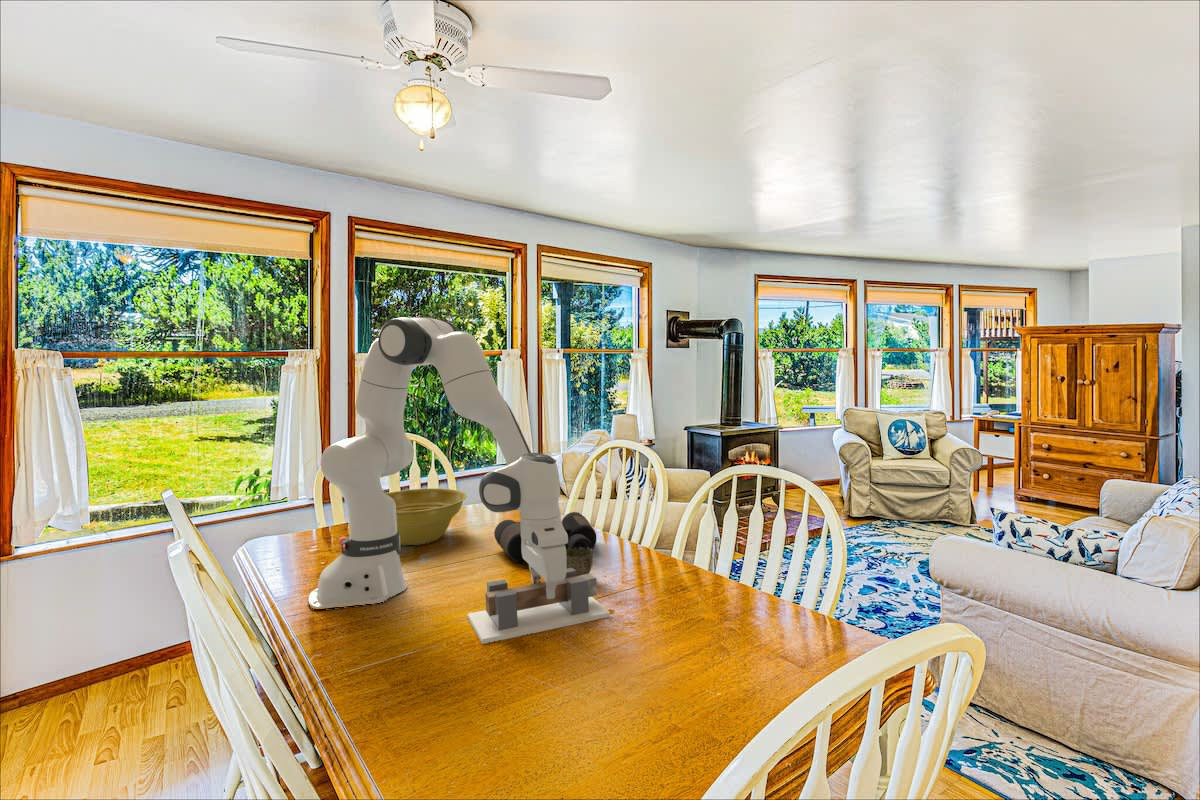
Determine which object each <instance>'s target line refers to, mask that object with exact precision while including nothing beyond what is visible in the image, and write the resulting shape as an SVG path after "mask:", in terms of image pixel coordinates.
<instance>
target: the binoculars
mask: <svg viewBox="0 0 1200 800" xmlns="http://www.w3.org/2000/svg"><path fill="white" fill-rule="evenodd" d="M561 521H562V525H563V528H564V529H565V531H566V533H567V535H568V543H567V544H564V545H565V547H566V549H567V550H568V548H569V547H570V548H572V549H574V548H575V547H576V549H577V550H578V548H579V547H581V548H583V547H584V548H585V549H586V550H587V548H589V550H590V549H591V548H592V550H593V549H594V548H595V545H596V543H597V533H596V530H595V529H594V527H593V526H592V525H591V523H590V522H589V520H588V519H587V518H586V517H585V516H584V515H582V513H580V512H579V511H571V512H569V513H567V514H566V515H565V516H564V517H563V519H561ZM493 534H494V539H495V541H496V544H498V545H499V546H500V547H501V549H502V550H503V552H504V553H506V555H508V557H509V558H510V559H511V560H512V561H514V562H515V563H518V564H528V563H527V562H526V561H525V560H524V559H523V557H522V552H521V541H522V538H521V528H520V521H515V520H512V519H505V520H502V521H500V522H499V523H498V524H497V525H496V527H495V529H494V533H493Z"/></svg>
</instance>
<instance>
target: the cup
mask: <svg viewBox="0 0 1200 800" xmlns="http://www.w3.org/2000/svg"><path fill="white" fill-rule="evenodd" d="M593 554H594V551H593V549H592V548H591V549H590V550H589V548H587V550H586V549H585V548H584V547H583V548H581V547H579V548H578V550H577V549H576V547H575V548H574V549H572V548H570V547H569V548H568V550H567V549H566V569H568V568H573V569H574V570H576V576H581V575H584V574H590V573H591V570H592V566H593V565H592V564H593Z"/></svg>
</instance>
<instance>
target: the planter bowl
mask: <svg viewBox="0 0 1200 800" xmlns="http://www.w3.org/2000/svg"><path fill="white" fill-rule="evenodd" d="M385 495H388V496H390V497H391V498H392V499H393V500H394V501H395V503H396V516H397V531H398V532H399V536H400V546H404V545H414V546H421V544H422V545H427V544H430V542H431V543H433V542H436V541H437V540H439V539H440V538H441V537H442V536H443V535H445V532H446V531H447V530H448V528H449V526H450V524H451V521H452V518H453V517H454V516H456V515H457V514H458V513H459V512H460V510H461V507H462V505H463V502H464V501H465V500H466V499H467V497H468V496H467V494H466V493H465V492H463V491H460V490H457V489H453V488H452V489H451V488H434V487H433V488H414V489H413V488H412V489H405V490H398V491H392V492H388V493H385ZM426 543H427V544H426Z"/></svg>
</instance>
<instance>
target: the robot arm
mask: <svg viewBox="0 0 1200 800" xmlns="http://www.w3.org/2000/svg"><path fill="white" fill-rule="evenodd" d="M377 337H378V338H376V339H375V340H373V342H372V343H371V345H370V348H369V350H368V353H367V355H366V358H365V361H364V364H363V367H362V368H363V369H362V372H361V376H360V381H359V386H358V391H357V397H356V402H355V410H356V413H357V414H358V415H359V416H360V418H362V419H363V420H364V422H365V432H364V434H363V435H362V436H361V435H360V436H355V437H350V438H344V439H342V440H340V441H337V442H335V443H332V444H330V445H329V446H327V447H326V448H325V449H324V450H323V453H322V454H321V459H320V468H321V472H322V474H323V476H324V478H325V480H327V481H328V482H329V483H331V484H333V485H334V486H336V488H337V489H338V491H339V492H340V494H341V495H342V497H343V499H344V501H345V504H346V509H347V515H348V527H349V529H348V530H349V536H348V537H347V536H341V537H340V538H339V541H338V543H339V545H340V548H341V549H340V550H341V553H340V555H339V556H338V557H336V558H335V559H334V560H333V561H332V562H331V563H330V564H328V565H327V566H326V567H325V568H324V569H322V572H321V573H320V575H319V578H318V583H317V588H315V589H313V590H311V592H310V593H309V595H308V599H307V600H308V601H309V604H310V606H312V607H314V608H331V607H338V606H348V605H350V606H351V605H361V604H362V605H363V604H371V603H380V602H383V603H385V602H386V601H388V600H389V599H390V598H389V597H391V598H393V597H395V596H397V595H396V594H398V593H400V592H401V593H403V592H404V591H406V589H407V587H408V584H407V582H406V579H405V575H404V573H403V569H402V564H401V563H402V562H401V558H400V555H401V545H400V536H399V532H398V531H397V516H396V503H395V501H394V500H393V499H392V498H391V497H390V496H388V495H385V494H386V493H385V492H384V490H383V488H382V484H381V478H385V477H388V476H392V475H395V474H397V473H399V472H401V471H403V470H404V469H405V468H407V467H409V466H410V465H411V463H412V462H413V459H414V455H415V450H414V449H415V448H414V446H413V443H412V441H411V439H410V438H409V437H408V436H407V433H406V432H405V426H404V415H405V407H406V401H407V398H408V393H409V392H408V391H409V389H410V381H411V377H412V372H413V370H414V369H415V368H416V367H417V366H419V367H420V366H422V367H423V366H429V365H432V366H433V367H434V368H435V369H436V370H437V372H438V374H439V377H440V380H441V383H442V387H443V390H444V393H445V396H446V398H447V400H448V403H449V405H450V406H451V408H452V410H453V411H454V413H456V414H457V415H459V416H460V417H462V418H465V419H467V420H468V421H469V420H470V421H473V422H476V423H478V424H480V425H482V426H484V427H485V428H486V429H487V430H489V431H490V432H491V433H492V434H493V437H494V438H495V440H496V442H497V446H498V448H499V449H500V451H501V454H502V457H503V458H504V460H505V462H506V465H504V466H501V467H498V468H495V469H493V470H491V471H489V472H487V473H486V474H484V475H483V476H482V477H481V480H480V483H479V487H478V494H479V497H480V501H481V502H482V504H483V505H484V507H485V508H486V509H488V510H489V511H491V512H493V513H506V512H512V511H518V512H519V522H520V528H521V538H522V541H521V552H522V557H523V559H524V560H525V561H526V562H527V563H526V564H527V565H528V569H529V572H530V575H531V578H530V579H531V584H536V583H542V579H544V580H545V581H544V582H546V589H545V596H546V598H547V599H553V598H555V589H556V586H557V583H560V582H563V581H564V580H565V577H566V547H565V545H564V544H567V543H568V535H567V533H566V531H565V529H564V528H563V525H562V513H561V509H560V503H559V502H560V501H559V500H560V497H561V484H560V483H561V482H560V474H559V473H560V472H559V467H558V464H557V462H556V460H555V458H553V457H552V456H551V455H549V454H545V453H541V452H540V453H539V452H531V450H530V448H529V445H528V443H527V441H526V438H525V436H524V434H523V432H522V430H521V428H520V425H519V423H518V421H517V418H516V416H515V414H514V413H513V411H512V409H511V408H510V406H509V404H508V403H507V401H506V400H505V399H504V397H503V395H502V394H501V392H500V390H499V388H498V386H497V384H496V381H495V379H494V376H493V374H492V371H491V368H490V365H489V362H488V361H487V358H486V356H485V354H484V352H483V350H482V348H481V346H480V344H479V342H478V341H477V340H476V338H475V336H474V335H472V334H471V333H469V332H466V331H461V330H460V329H459V327H457V326H456V324H454V323H452V322H450V321H448V320H444V319H436V318H432V317H425V316H424V317H423V316H420V317H407V316H400V317H396V318H392V319H390V320H388V321H386V322H385V323H384V324H383V325H382V326H381V328H380V329H379V333H378V336H377ZM402 591H403V592H402ZM401 593H400V594H401ZM394 595H395V596H394ZM398 595H399V594H398ZM392 596H393V597H392ZM388 598H389V599H388ZM387 599H388V600H387ZM385 600H386V601H385ZM308 601H307V602H308ZM384 601H385V602H384ZM309 604H308V605H309ZM380 604H381V603H380ZM363 606H364V605H363Z"/></svg>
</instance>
